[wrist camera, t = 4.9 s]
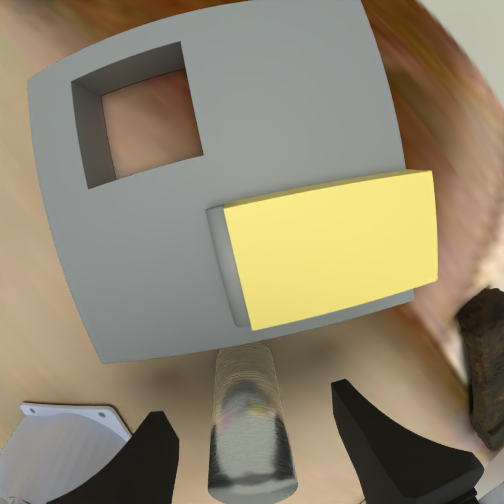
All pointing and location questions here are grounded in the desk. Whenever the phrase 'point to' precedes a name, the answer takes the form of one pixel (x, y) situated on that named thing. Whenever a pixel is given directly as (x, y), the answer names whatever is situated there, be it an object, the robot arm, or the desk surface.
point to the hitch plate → (204, 161)
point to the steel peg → (249, 430)
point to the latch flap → (325, 246)
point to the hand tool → (486, 363)
